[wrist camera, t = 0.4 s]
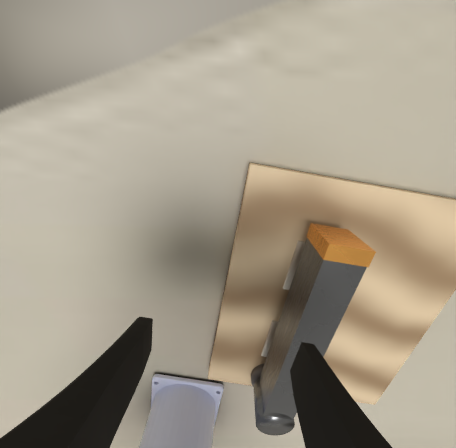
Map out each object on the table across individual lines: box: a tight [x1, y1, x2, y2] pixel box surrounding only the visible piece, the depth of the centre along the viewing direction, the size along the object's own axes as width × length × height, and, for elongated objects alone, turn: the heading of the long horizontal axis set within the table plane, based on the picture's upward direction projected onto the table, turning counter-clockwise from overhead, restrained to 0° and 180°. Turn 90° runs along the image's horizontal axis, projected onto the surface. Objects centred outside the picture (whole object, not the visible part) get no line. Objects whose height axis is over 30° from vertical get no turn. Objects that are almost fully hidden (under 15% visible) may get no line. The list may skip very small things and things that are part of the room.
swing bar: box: [253, 223, 376, 435], centre depth 16 cm, size 19×3×3 cm, turn 171°
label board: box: [208, 163, 456, 405], centre depth 18 cm, size 22×18×2 cm
